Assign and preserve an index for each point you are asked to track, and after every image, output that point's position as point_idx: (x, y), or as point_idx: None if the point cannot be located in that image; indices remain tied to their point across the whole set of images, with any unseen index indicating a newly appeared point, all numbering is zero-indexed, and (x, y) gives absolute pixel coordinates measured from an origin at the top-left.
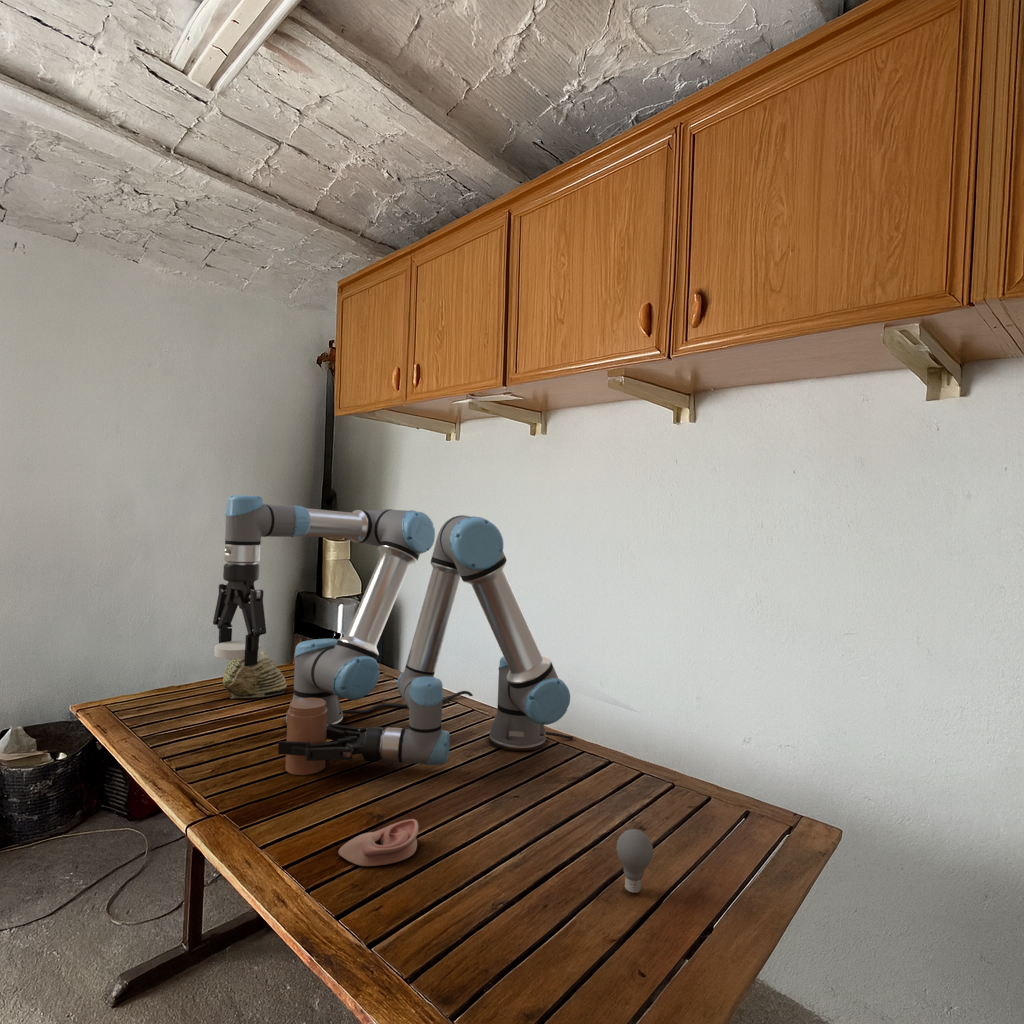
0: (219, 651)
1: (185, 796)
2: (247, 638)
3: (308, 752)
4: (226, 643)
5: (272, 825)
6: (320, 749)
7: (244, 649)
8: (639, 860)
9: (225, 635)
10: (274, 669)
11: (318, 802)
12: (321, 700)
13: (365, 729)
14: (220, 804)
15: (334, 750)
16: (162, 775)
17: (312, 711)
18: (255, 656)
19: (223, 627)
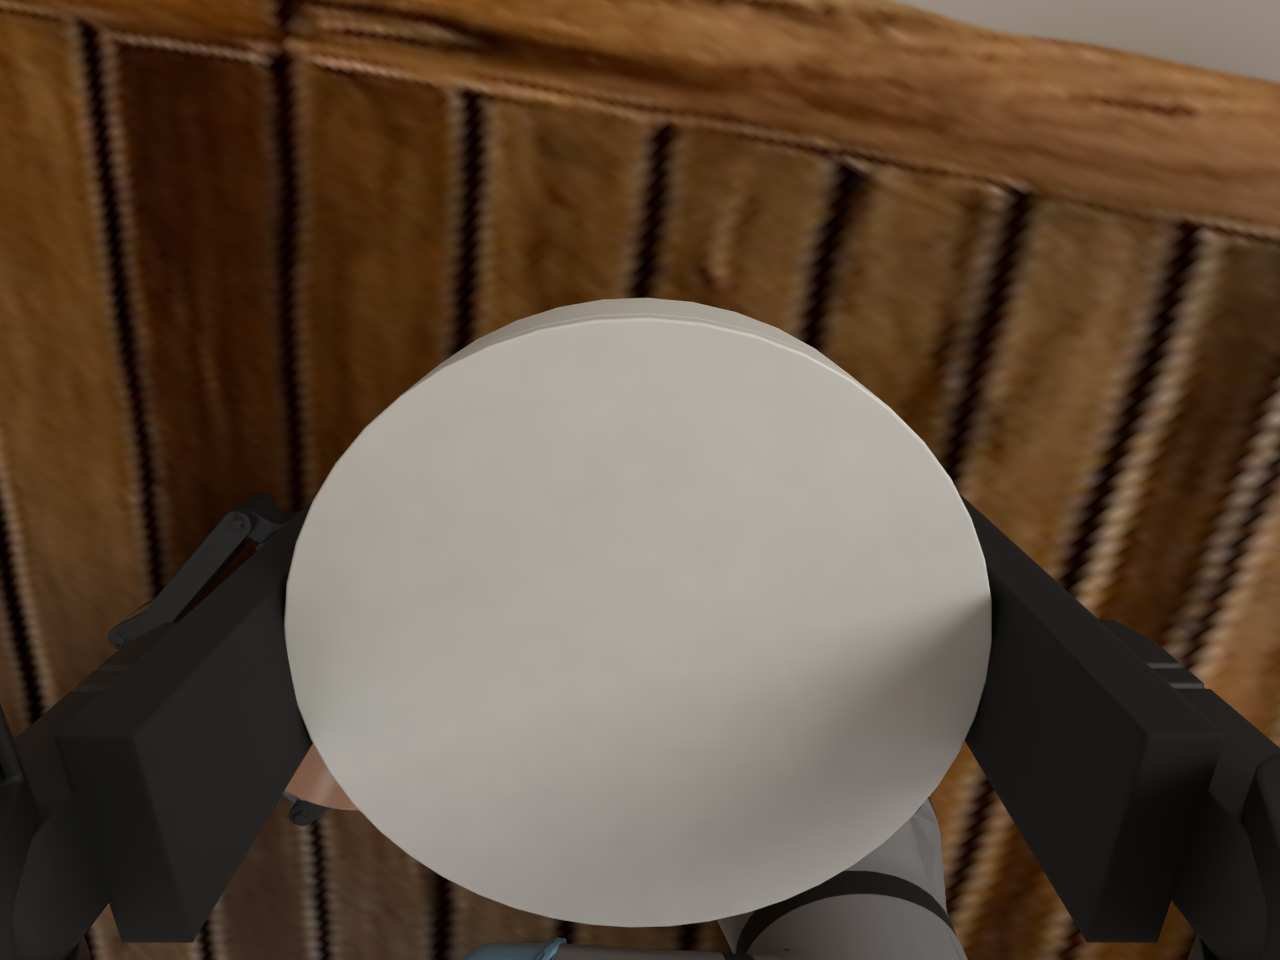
0: (590, 311)
1: (549, 37)
2: (81, 716)
3: (234, 509)
4: (880, 618)
5: (39, 140)
6: (195, 552)
7: (296, 589)
8: None
9: (1047, 733)
10: None
11: (113, 384)
12: (330, 794)
13: (290, 814)
14: (362, 102)
15: (163, 591)
16: (844, 86)
17: None
18: None
19: (1225, 846)
